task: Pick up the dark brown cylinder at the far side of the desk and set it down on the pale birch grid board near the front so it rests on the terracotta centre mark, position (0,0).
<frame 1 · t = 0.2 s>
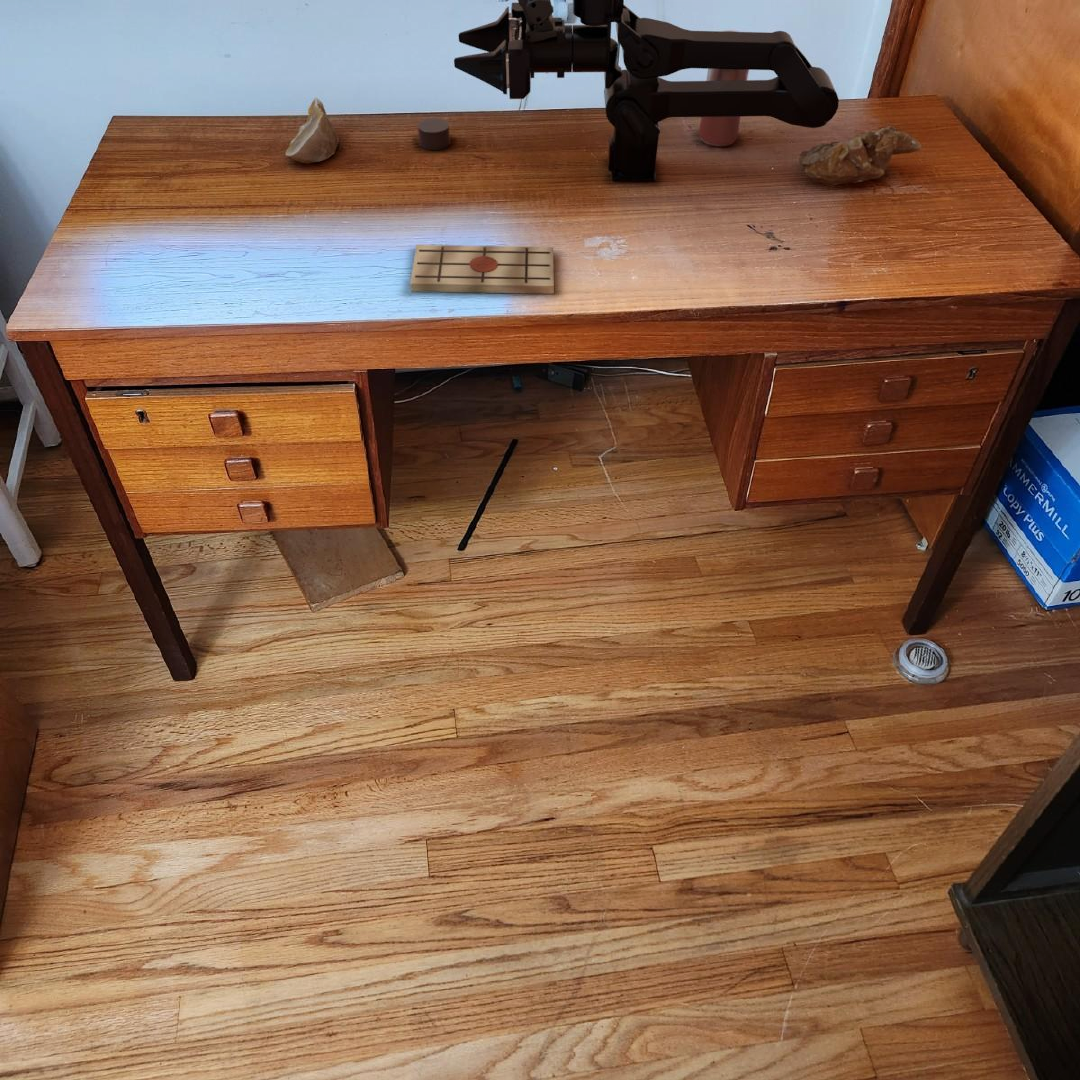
hand: (456, 49, 130), 17 cm above the table, tool horizontal, fingers open, 9 cm apart
dark brown cylinder: (434, 142, 147), on the table
stone: (315, 148, 146), on the table
beverage can: (717, 140, 150), on the table
mineral specimen: (852, 177, 143), on the table
board: (483, 272, 124), on the table
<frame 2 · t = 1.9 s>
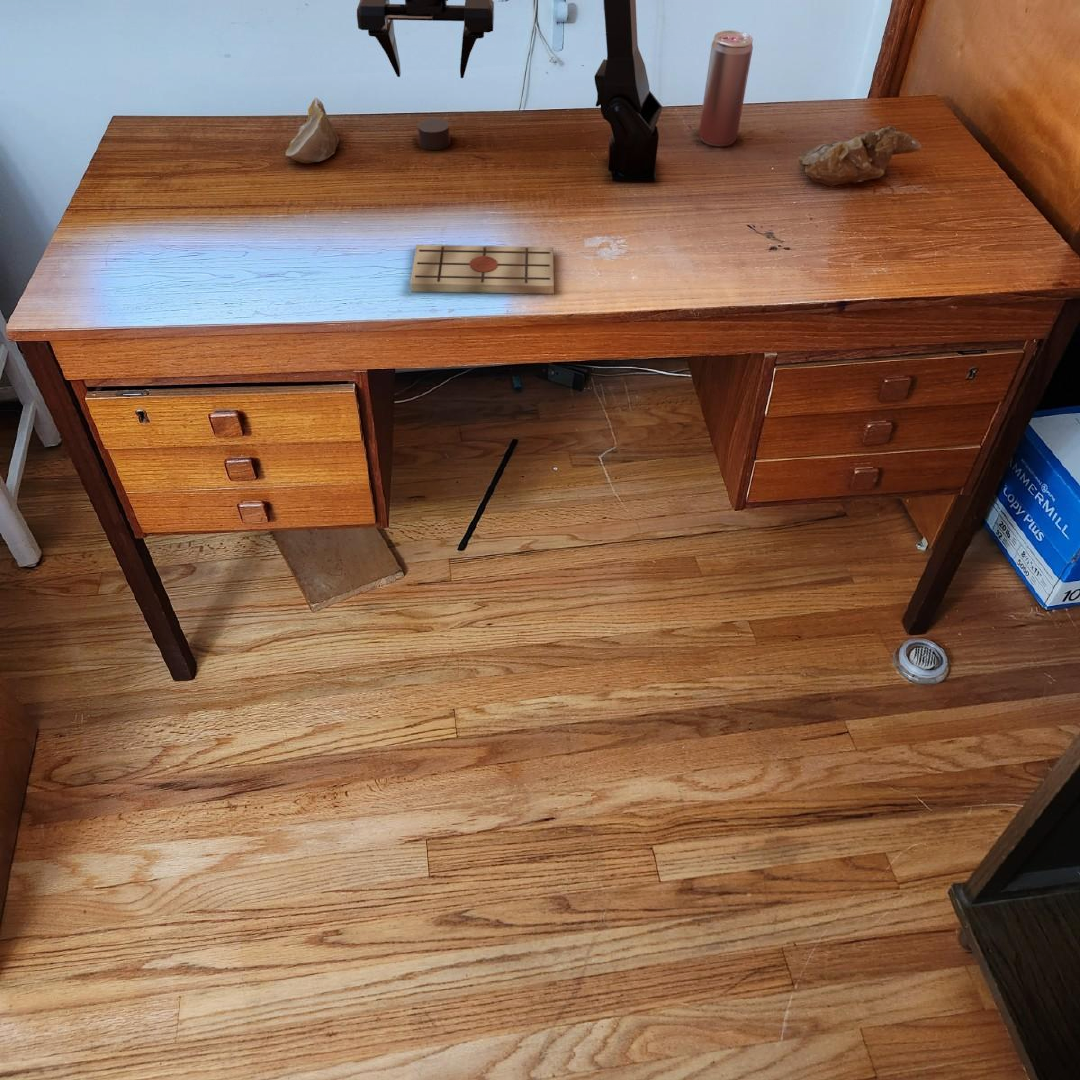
hand: (430, 76, 140), 10 cm above the table, tool pointing down, fingers open, 9 cm apart
nothing on the table moved.
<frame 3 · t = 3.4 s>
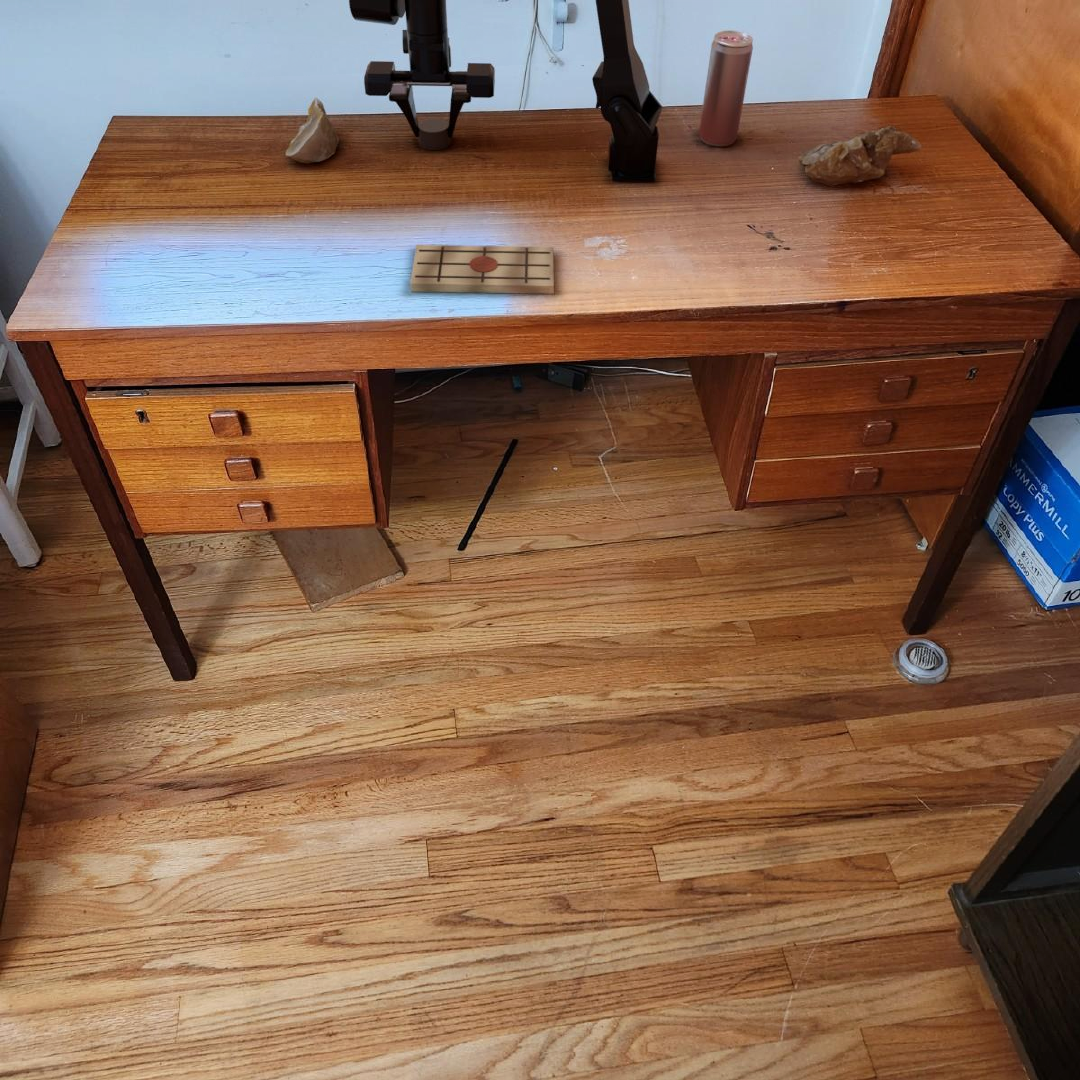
hand: (434, 136, 147), 1 cm above the table, tool pointing down, fingers closed on dark brown cylinder, 5 cm apart
dark brown cylinder: (434, 142, 147), on the table, touching gripper
everything else where it was.
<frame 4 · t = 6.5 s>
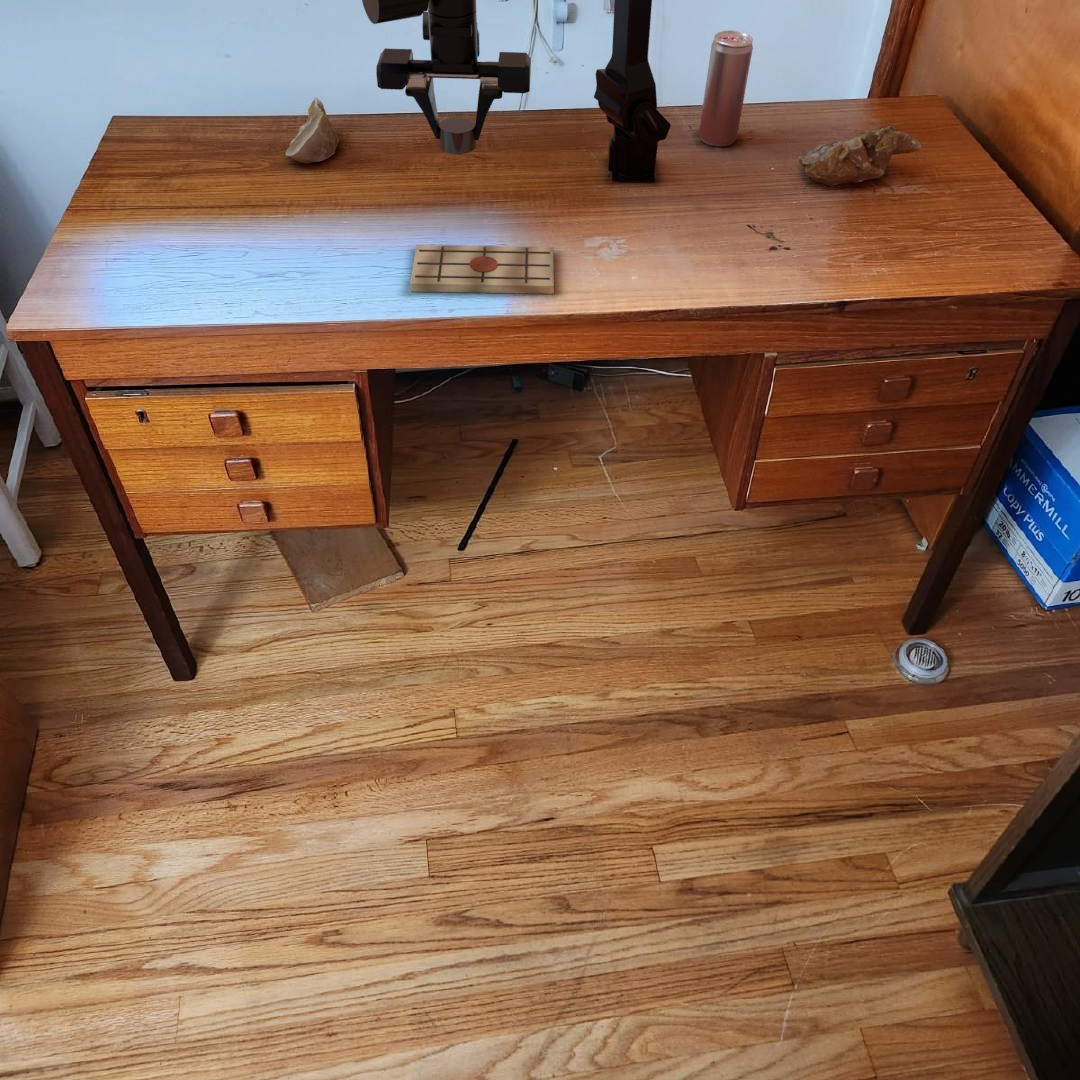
hand: (457, 138, 125), 11 cm above the table, tool pointing down, fingers closed on dark brown cylinder, 5 cm apart
dark brown cylinder: (457, 145, 126), point 10 cm above the table, touching gripper
everything else where it was.
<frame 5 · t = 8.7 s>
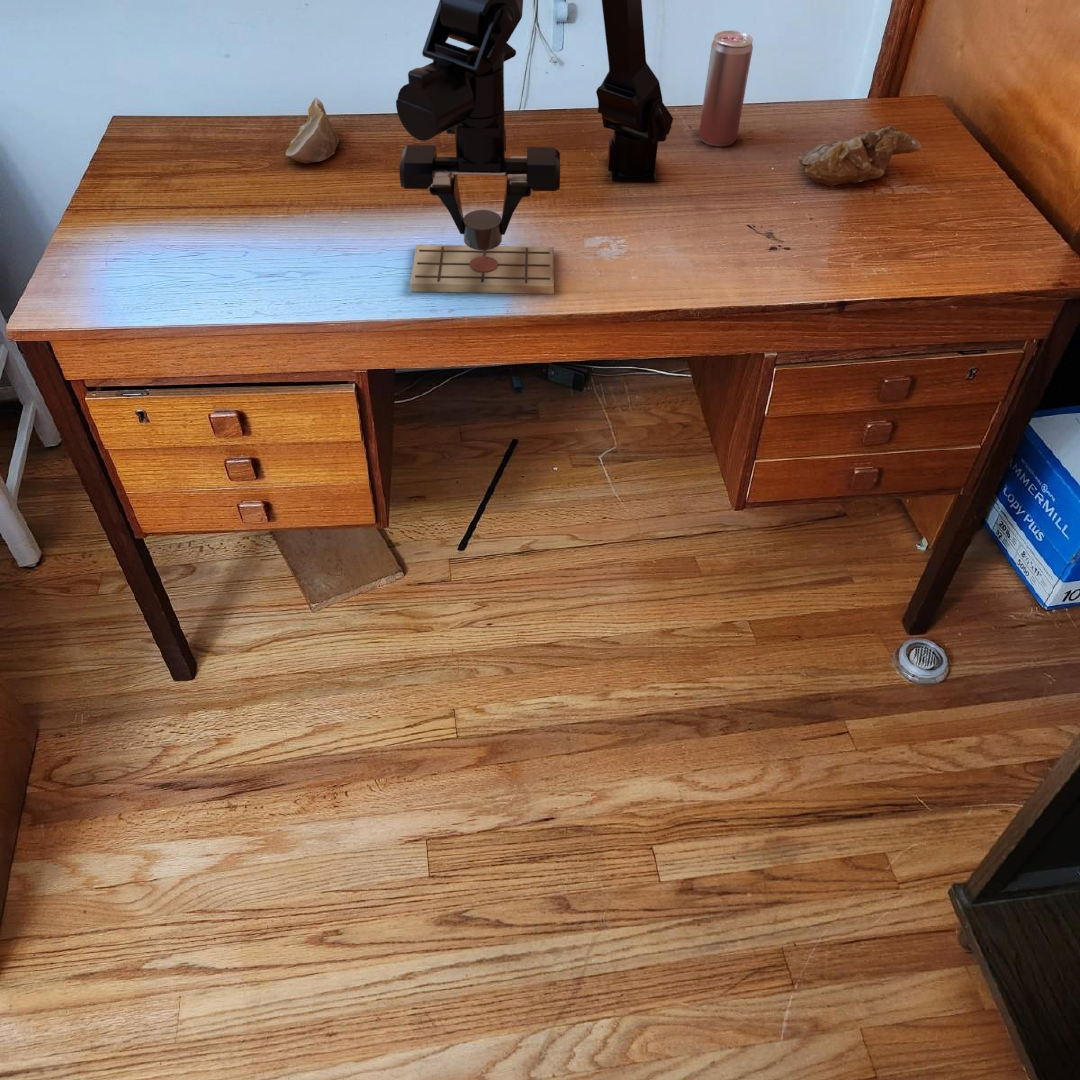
hand: (482, 232, 120), 6 cm above the table, tool pointing down, fingers closed on dark brown cylinder, 5 cm apart
dark brown cylinder: (482, 240, 120), point 5 cm above the table, touching gripper
everything else where it was.
when the fingers open (2 cm above the table, at t = 9.9 s): dark brown cylinder stays where it is, resting on board.
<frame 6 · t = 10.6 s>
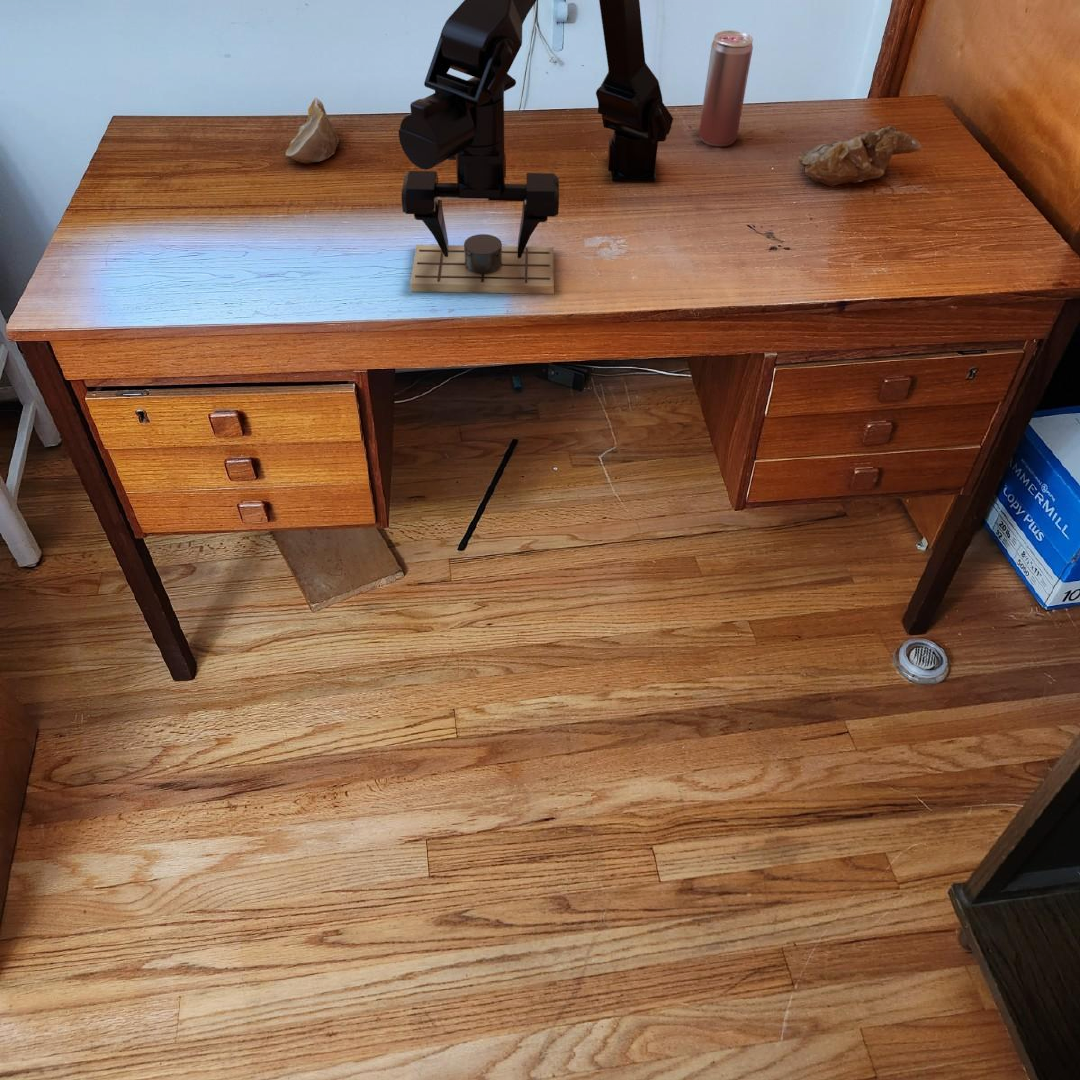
hand: (483, 255, 122), 2 cm above the table, tool pointing down, fingers open, 9 cm apart
dark brown cylinder: (483, 263, 123), point 1 cm above the table, touching board
everything else where it was.
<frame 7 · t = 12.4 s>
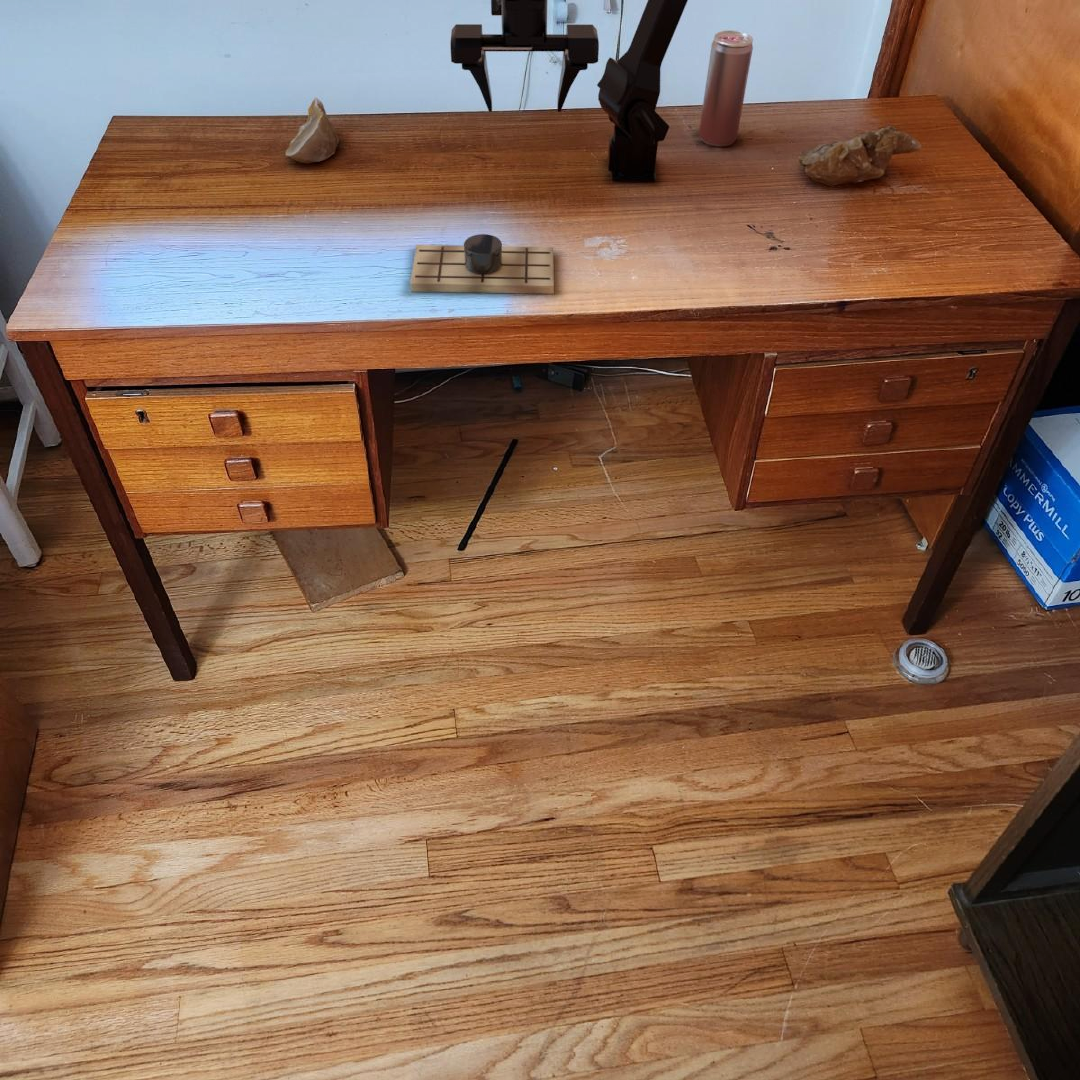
hand: (524, 110, 129), 12 cm above the table, tool pointing down, fingers open, 9 cm apart
nothing on the table moved.
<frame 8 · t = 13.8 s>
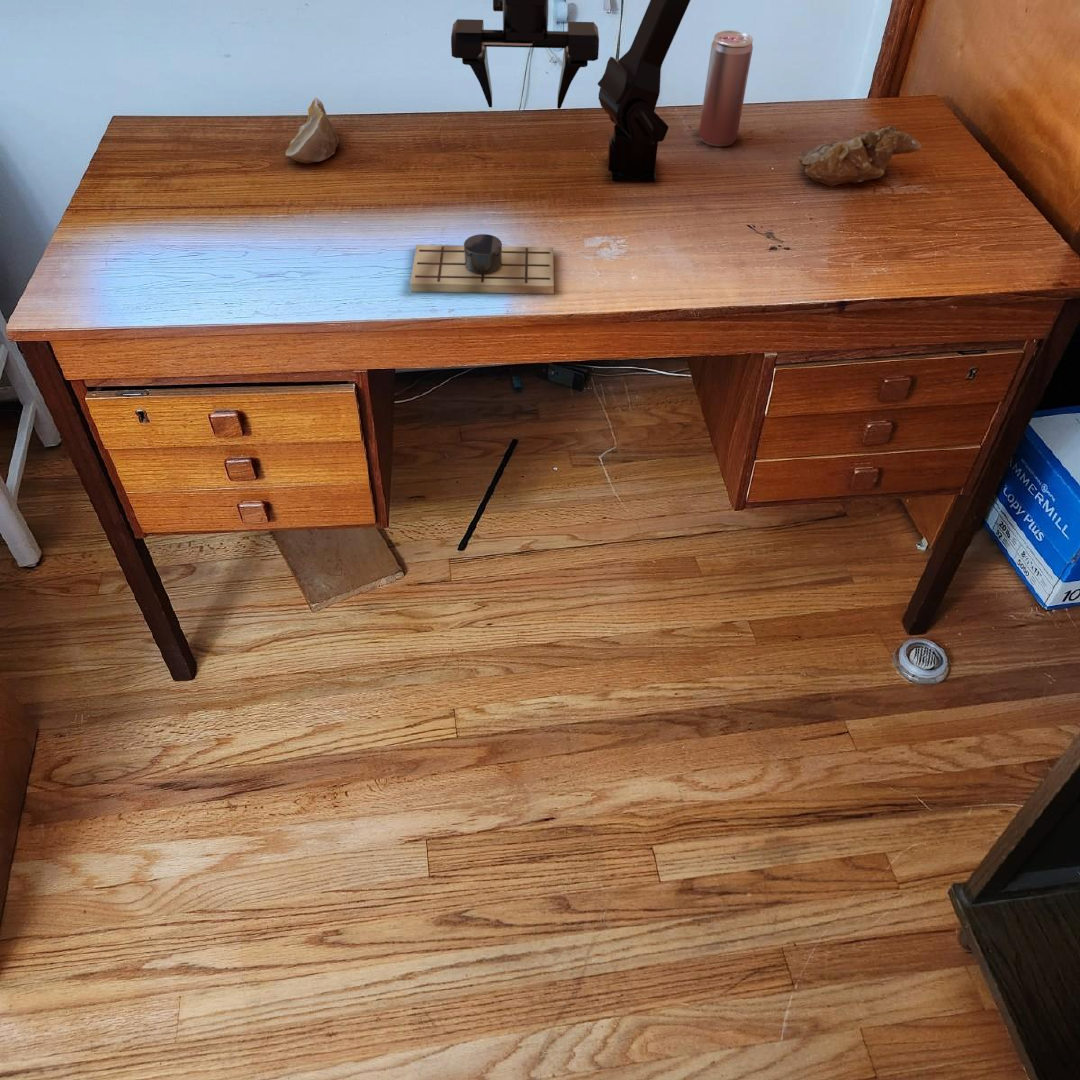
hand: (524, 106, 129), 12 cm above the table, tool pointing down, fingers open, 9 cm apart
nothing on the table moved.
at the end: dark brown cylinder 0.0 cm off-centre on the board, point 1.3 cm above the board's base; dark brown cylinder tilted 0°; the gripper is holding nothing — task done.
